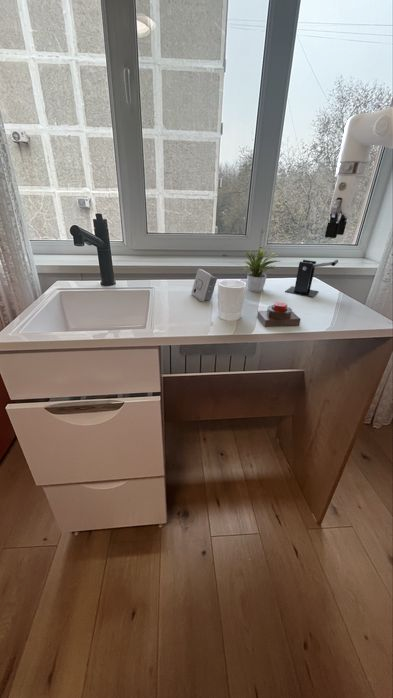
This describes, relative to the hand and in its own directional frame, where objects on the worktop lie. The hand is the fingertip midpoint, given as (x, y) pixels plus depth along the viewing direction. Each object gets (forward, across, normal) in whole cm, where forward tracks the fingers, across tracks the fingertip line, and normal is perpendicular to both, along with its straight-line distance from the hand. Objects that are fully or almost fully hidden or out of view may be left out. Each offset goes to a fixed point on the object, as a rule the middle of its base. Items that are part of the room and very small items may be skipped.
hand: (334, 235), depth 88 cm
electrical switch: (+22, -22, +34) cm, 45 cm away
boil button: (+18, -26, +4) cm, 32 cm away
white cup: (+21, -31, +17) cm, 42 cm away
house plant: (+22, -6, +22) cm, 31 cm away
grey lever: (+11, +4, +3) cm, 12 cm away
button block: (+21, -26, +4) cm, 34 cm away
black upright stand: (+21, +4, +7) cm, 23 cm away
